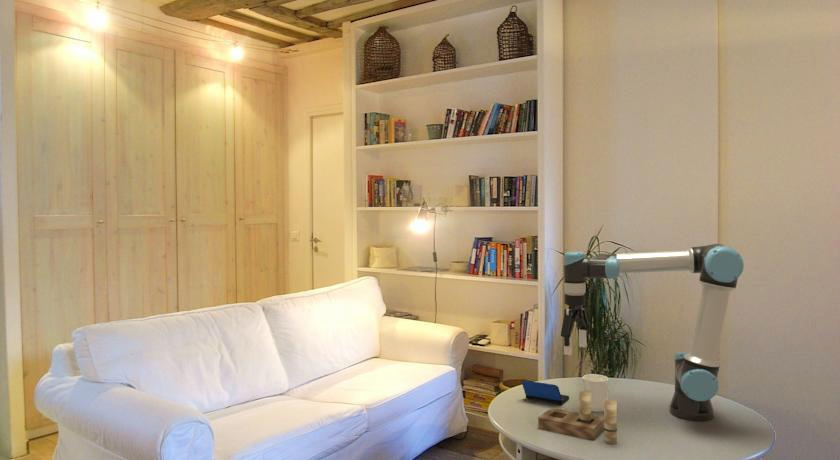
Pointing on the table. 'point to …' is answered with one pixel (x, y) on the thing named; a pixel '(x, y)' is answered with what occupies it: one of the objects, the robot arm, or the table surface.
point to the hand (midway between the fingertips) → (575, 350)
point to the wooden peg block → (573, 420)
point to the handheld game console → (543, 392)
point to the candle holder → (596, 390)
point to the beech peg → (610, 421)
